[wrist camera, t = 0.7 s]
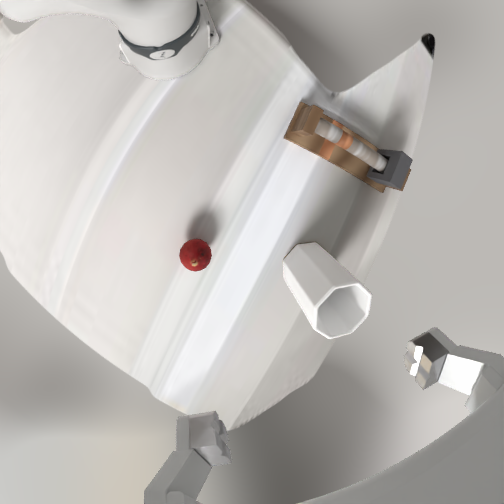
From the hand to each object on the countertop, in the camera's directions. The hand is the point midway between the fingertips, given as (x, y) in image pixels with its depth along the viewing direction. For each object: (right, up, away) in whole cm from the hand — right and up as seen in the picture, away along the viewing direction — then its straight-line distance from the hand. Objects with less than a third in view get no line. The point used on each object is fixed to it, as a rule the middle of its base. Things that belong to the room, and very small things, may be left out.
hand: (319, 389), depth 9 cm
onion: (-13, +6, +44) cm, 46 cm away
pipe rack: (+16, +26, +41) cm, 51 cm away
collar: (+23, +23, +40) cm, 52 cm away
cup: (+9, +2, +49) cm, 50 cm away
